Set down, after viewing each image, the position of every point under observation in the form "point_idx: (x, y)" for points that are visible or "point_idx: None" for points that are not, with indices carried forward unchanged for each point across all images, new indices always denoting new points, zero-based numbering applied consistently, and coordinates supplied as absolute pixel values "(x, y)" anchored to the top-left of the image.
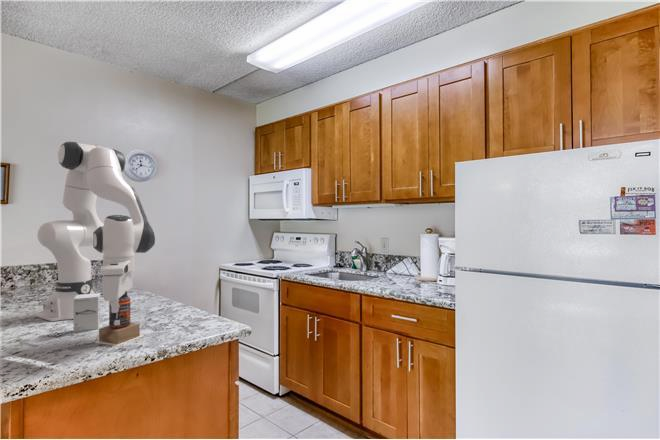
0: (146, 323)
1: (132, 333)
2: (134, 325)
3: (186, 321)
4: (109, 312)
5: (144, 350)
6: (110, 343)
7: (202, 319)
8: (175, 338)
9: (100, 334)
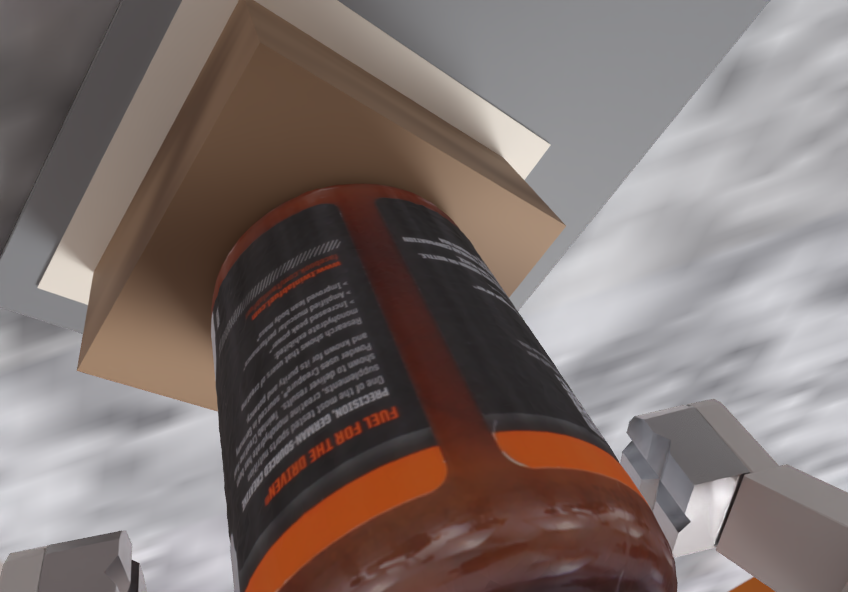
0: (833, 229)
1: None
2: None
3: None
4: (312, 347)
5: (11, 487)
6: (134, 176)
7: (697, 557)
8: None
9: (237, 47)
